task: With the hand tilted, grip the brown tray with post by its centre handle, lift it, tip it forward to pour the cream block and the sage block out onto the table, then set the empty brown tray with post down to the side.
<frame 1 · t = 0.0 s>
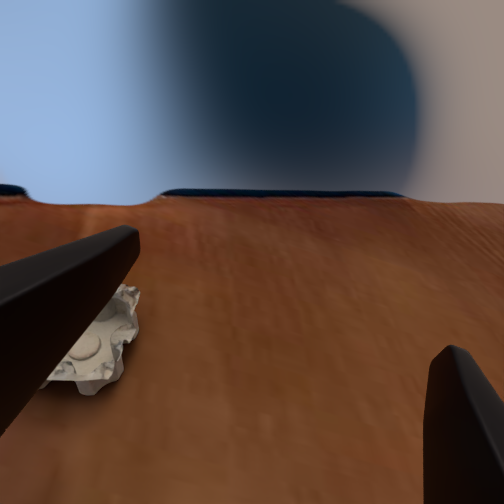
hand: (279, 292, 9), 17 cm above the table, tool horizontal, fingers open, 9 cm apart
grey lumpy piece: (60, 347, 24), on the table
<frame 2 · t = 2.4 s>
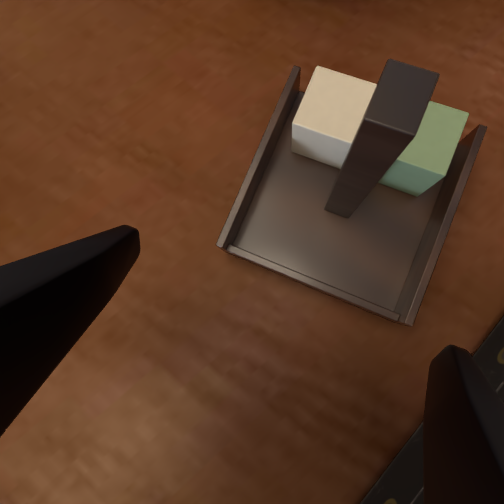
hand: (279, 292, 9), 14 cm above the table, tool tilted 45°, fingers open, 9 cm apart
brown tray with post: (340, 200, 23), on the table, touching cream block, sage block
cream block: (327, 136, 23), point 1 cm above the table, touching brown tray with post
sage block: (399, 160, 23), point 1 cm above the table, touching brown tray with post
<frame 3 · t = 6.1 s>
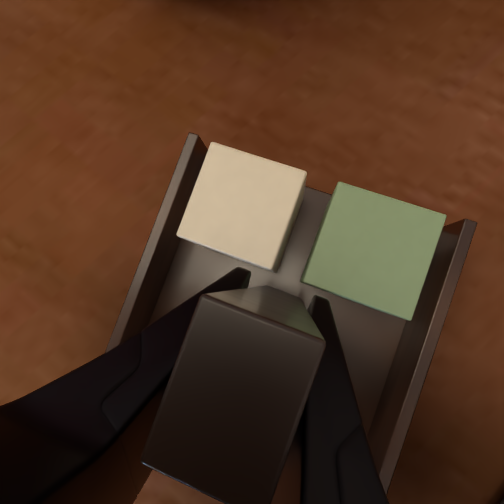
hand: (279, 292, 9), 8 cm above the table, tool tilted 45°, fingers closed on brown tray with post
brown tray with post: (275, 313, 17), on the table, touching cream block, gripper, sage block
cream block: (252, 222, 17), point 1 cm above the table, touching brown tray with post
sage block: (353, 257, 16), point 1 cm above the table, touching brown tray with post
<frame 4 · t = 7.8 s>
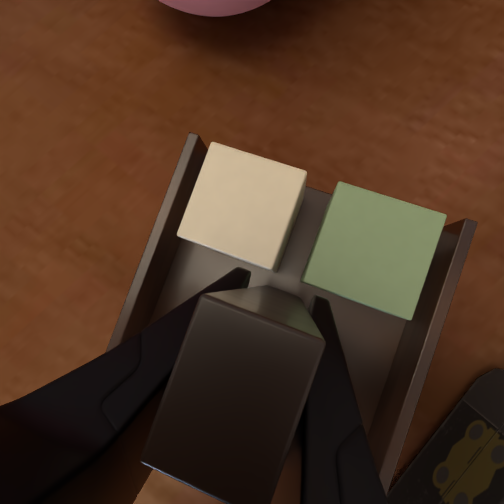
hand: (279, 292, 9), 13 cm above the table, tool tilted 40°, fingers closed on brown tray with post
brown tray with post: (275, 313, 17), point 6 cm above the table, touching cream block, gripper, sage block
cream block: (252, 222, 17), point 6 cm above the table, touching brown tray with post
sage block: (353, 256, 16), point 6 cm above the table, touching brown tray with post
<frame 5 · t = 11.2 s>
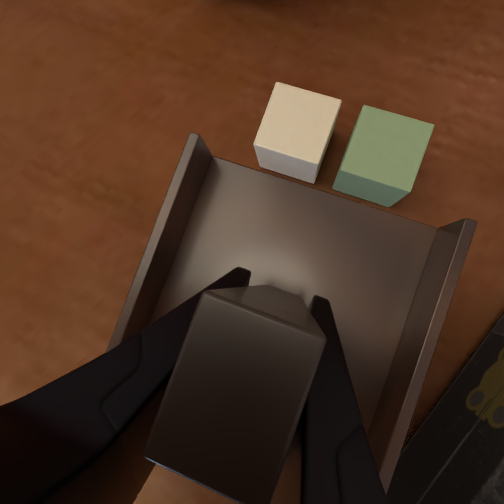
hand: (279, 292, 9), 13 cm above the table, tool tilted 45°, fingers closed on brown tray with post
brown tray with post: (275, 312, 17), point 6 cm above the table, touching gripper
cream block: (285, 166, 21), point 2 cm above the table, tilted 90°
sage block: (366, 190, 20), point 2 cm above the table, tilted 90°
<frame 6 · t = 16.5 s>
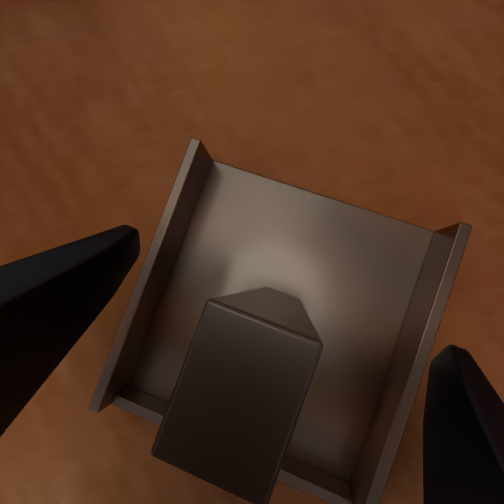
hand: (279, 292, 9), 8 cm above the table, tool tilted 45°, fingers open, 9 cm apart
brown tray with post: (275, 314, 17), on the table
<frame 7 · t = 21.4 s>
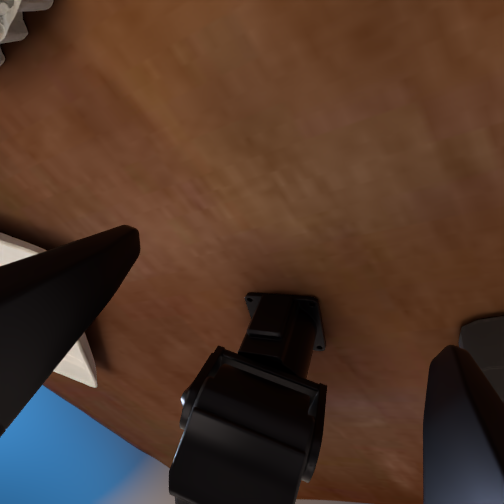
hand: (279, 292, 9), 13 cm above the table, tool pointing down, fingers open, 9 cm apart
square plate: (12, 281, 44), on the table
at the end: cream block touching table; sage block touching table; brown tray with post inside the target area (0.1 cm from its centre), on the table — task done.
